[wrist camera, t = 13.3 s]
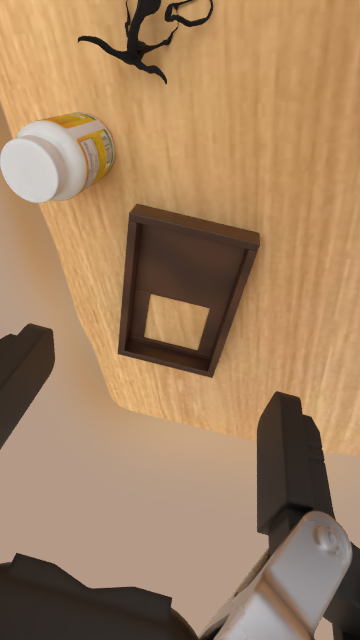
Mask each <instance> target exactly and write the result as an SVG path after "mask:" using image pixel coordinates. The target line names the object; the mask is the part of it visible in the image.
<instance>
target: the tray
mask: <svg viewBox="0 0 360 640" xmlns="http://www.w3.org/2000/svg"><path fill="white" fill-rule="evenodd" d="M259 246H260V237H259V233H256V232H252V231H248V230H244V229H239V228H235V227H231V226H227V225H223V224H218V223H214V222H210V221H206V220H202V219H198V218H193V217H189V216H185V215H181V214H177V213H172V212H168V211H164V210H160V209H156V208H152V207H147V206H143V205H139V204H136V206H135V207H134V208H133V209H132V210H131V211H130V213H129V222H128V235H127V247H126V259H125V272H124V284H123V296H122V309H121V321H120V333H119V345H118V354H120V355H124V356H128V357H132V358H136V359H140V360H144V361H148V362H152V363H156V364H160V365H164V366H168V367H172V368H176V369H180V370H184V371H188V372H191V373H195V374H199V375H203V376H207V377H211V378H212V377H213V375H214V372H215V369H216V367H217V364H218V361H219V358H220V355H221V352H222V350H223V347H224V344H225V341H226V338H227V336H228V333H229V330H230V327H231V324H232V322H233V319H234V316H235V313H236V310H237V307H238V305H239V302H240V299H241V296H242V293H243V291H244V288H245V285H246V282H247V279H248V276H249V274H250V271H251V268H252V265H253V262H254V260H255V257H256V254H257V251H258V248H259ZM150 294H154V295H158V296H162V297H166V298H171V299H175V300H179V301H183V302H187V303H191V304H195V305H199V306H203V307H207V308H210V310H209V314H208V317H207V321H206V324H205V328H204V331H203V334H202V338H201V341H200V345H199V348H198V351H196V350H192V349H188V348H184V347H180V346H176V345H172V344H168V343H164V342H160V341H156V340H152V339H148V338H144V332H145V325H146V318H147V311H148V304H149V297H150Z"/></svg>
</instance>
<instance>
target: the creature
mask: <svg viewBox="0 0 360 640" xmlns="http://www.w3.org/2000/svg"><path fill="white" fill-rule="evenodd" d="M190 1H192V0H187V1H184V2H180V3H172V4H169V5H168V7H167V9H166V12H165V21H167V22H173V21H174V20H177V21H178V22H180V23H182V24H184V25H185V26H187V27H192V26H197V25H202V24H203V23H205V22H206V21H207V20H208V19H209V18H210V16H211V13H212V11H213V2H212V0H210V1H211V9H210V11H209V14H208V16H207V17H206V18H203V19H199V20H195V21H192V22H191V21H188V20H186V19H185V18H183V17H181V16H179V15H172V16H171V14H172V9H173V6H174V8H175V9H176V11H177V9H178V6H180V5H182V4H184V3H187V2H190ZM160 4H161V0H138V4H137V9H136V12H135V15H134V17H133V20H132V23H131V26H130V30H129V31H128V25H130V15H129V11H128V7H127V1H126V7H127V15H128V17H127V22H126V23H125V28H126V35H127V38H128V41H127V51H123V52H122V51H117V50H114V49H113V48H111V47H110V46H109V45H108V44H107V43H106V42H104V41H103V40H101V39H99V38H97V37H92V36H81V37H79V38H78V43H79V41H89V42H92V43H95V44H97V45H99V46H100V47H101V48H102V49H103V50H105V51H106V52H107V53H109V54H111V55H113V56H115V57H117V58H119V59H121V60H122V61H124V62H125V63H126V64H129V65H134V66H136V67H137V68H138V69H140V70H144V71H146V72H148V73H150V74H151V73H155V74H157V75H159V76H160V77H161V78H162V79H163V80H164V81H165V84H167V79H166V77H165V75H164V74H163V72H162V71H161V70H160V69H159V68H158V67H157V66H154V65H151V66H146V65H145V64H144V63H142V62H141V59H142V57H143V55H144V54H145V53H147V52H150V51H152V50H153V49H155V48H158V47H160V46H163V45H169V44H170V42H171V39H172V36H173V33H174V32H175V31H176V30H177V28H178V27H177V28H176V29H175V30H174V31H173V32H172V33H171V35H170V37H169V38H168V39H167V40H164V41H163V42H161V43H160V44H158V45H153V46H149V45H146V44H145V43H144V42H142V41H138V33H139V29H140V25H141V23H142V21H143V20H144V18H145V17H146V16H148V15H150V14H154V13H155V12H156V11H157V10H158V9H159V7H160Z"/></svg>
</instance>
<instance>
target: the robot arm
mask: <svg viewBox="0 0 360 640" xmlns="http://www.w3.org/2000/svg"><path fill="white" fill-rule="evenodd" d="M54 362H55V353H54V339H53V331H52V329H49V328H45V327H42V326H38V325H34V324H31V323H30V324H28V325H26V326H25V327H24V328H23V330H22V331H21V332H20V333H19V334H18V335H17V336H16V335H13V334H9V335H7V336H5V337H3V338H2V339H0V449H1V448H2V446H3V444H4V443H5V442H6V440H7V439H8V437H9V436H10V434H11V433H12V431H13V430H14V428H15V427H16V425H17V424H18V422H19V421H20V419H21V418H22V416H23V415H24V413H25V412H26V410H27V409H28V407H29V406H30V404H31V403H32V401H33V400H34V398H35V396H36V395H37V394H38V392H39V390H40V389H41V388H42V386H43V384H44V383H45V381H46V380H47V378H48V377H49V375H50V373H51V372H52V369H53V366H54ZM257 532H258V533H262V534H265V535H269V548H268V549H267V550H266V551H265V553H264V554H263V555H262V556H261V558H260V559H259V560H258V562H257V563H256V564H255V566H254V567H253V568H252V570H251V571H250V572H249V573H248V575H247V576H246V577H245V579H244V580H243V582H242V583H241V584H240V585H239V587H238V588H237V589H236V590H235V592H234V593H233V595H232V596H231V597H230V598H229V599H228V601H227V602H226V603H225V604H224V605H223V606H222V607H221V608H220V610H219V611H218V612H217V613H216V614H215V616H214V617H213V618H212V619H211V620H210V622H209V623H208V624H207V626H206V627H205V628H204V630H203V631H202V632H201V633H200V635H199V636H197V635H196V633H195V632H194V630H193V629H192V627H191V626H190V625H189V624H188V622H187V621H186V620H185V619H184V618H183V617H182V616H181V615H180V614H179V613H178V612H177V611H175V610H174V609H172V608H171V602H172V598H171V597H168V596H165V595H161V594H158V593H154V592H151V591H147V590H144V589H140V588H137V587H118V588H117V587H116V588H96V589H92V588H88V587H86V586H85V585H83V584H82V583H81V582H79V581H78V580H76V579H75V578H73V577H72V576H71V575H69V574H68V573H67V572H65V571H64V570H62V569H61V568H60V567H58V566H57V565H55V564H53V563H50V562H46V561H43V560H40V559H36V558H33V557H29V556H26V555H22V554H19V553H16V555H15V557H14V559H13V561H12V562H7V563H2V564H0V640H315V639H314V632H315V630H316V628H317V626H318V624H319V621H320V620H321V618H322V616H323V617H324V618H325V619H327V620H328V621H330V622H331V623H332V626H333V636H334V640H360V549H359V548H358V547H356V546H355V545H354V544H353V543H352V542H351V541H350V540H349V538H348V536H347V534H346V532H345V530H344V529H343V528H342V526H341V525H340V524H339V523H338V522H337V521H336V519H335V516H334V512H333V507H332V502H331V496H330V490H329V484H328V478H327V473H326V467H325V463H324V455H323V450H322V443H321V438H320V432H319V430H318V428H317V426H316V425H315V423H314V421H313V419H312V417H310V416H306V415H303V414H302V407H301V401H300V398H299V397H296V396H293V395H289V394H285V393H282V392H278V391H277V392H275V393H274V395H273V397H272V398H271V400H270V402H269V403H268V405H267V407H266V408H265V410H264V412H263V413H262V415H261V417H260V420H259V423H258V428H257Z"/></svg>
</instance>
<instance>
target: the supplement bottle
mask: <svg viewBox="0 0 360 640" xmlns="http://www.w3.org/2000/svg"><path fill="white" fill-rule="evenodd" d="M114 155H115V150H114V143H113V140H112V137H111V135H110V133H109V131H108V130H107V128H106V127H105V126H104V124H103V123H102V122H101V121H99V120H98V119H97V118H95V117H94V116H92V115H89V114H86V113H72V114H67V115H62V116H57V117H53V118H48V119H43V120H38V121H34V122H31V123H29V124H27V125H25V126H24V127H23V128H22V129H21V130H20V131H19V133H18V134H17V136H16V138H15V139H13V140H11V141H9V142H8V143H7V144H6V145H5V146H4V148H3V150H2V152H1V157H0V166H1V170H2V173H3V176H4V178H5V180H6V182H7V184H8V185H9V186H10V188H11V189H12V190H13V191H14V192H15V193H16V194H17V195H18V196H20V197H21V198H23V199H25V200H27V201H30V202H34V203H44V202H47V201H49V200H53V201H64V200H68V199H71V198H73V197H74V196H76V195H77V194H79V193H80V192H82V191H83V190H85V189H86V188H88V187H89V186H90V185H92V184H93V183H95V182H96V181H98V180H99V179H101V178H102V177H104V176H105V175H106V174H107V173H108V172H109V170H110V169H111V167H112V165H113V162H114Z"/></svg>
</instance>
